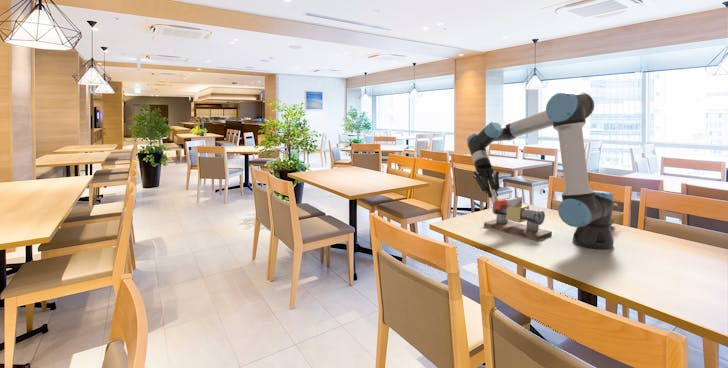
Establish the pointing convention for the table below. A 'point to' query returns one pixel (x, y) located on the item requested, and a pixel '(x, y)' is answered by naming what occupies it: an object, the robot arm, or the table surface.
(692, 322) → the table surface
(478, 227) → the table surface
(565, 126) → the robot arm
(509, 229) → the walnut base board
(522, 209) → the pipe and valve body
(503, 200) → the valve lever
